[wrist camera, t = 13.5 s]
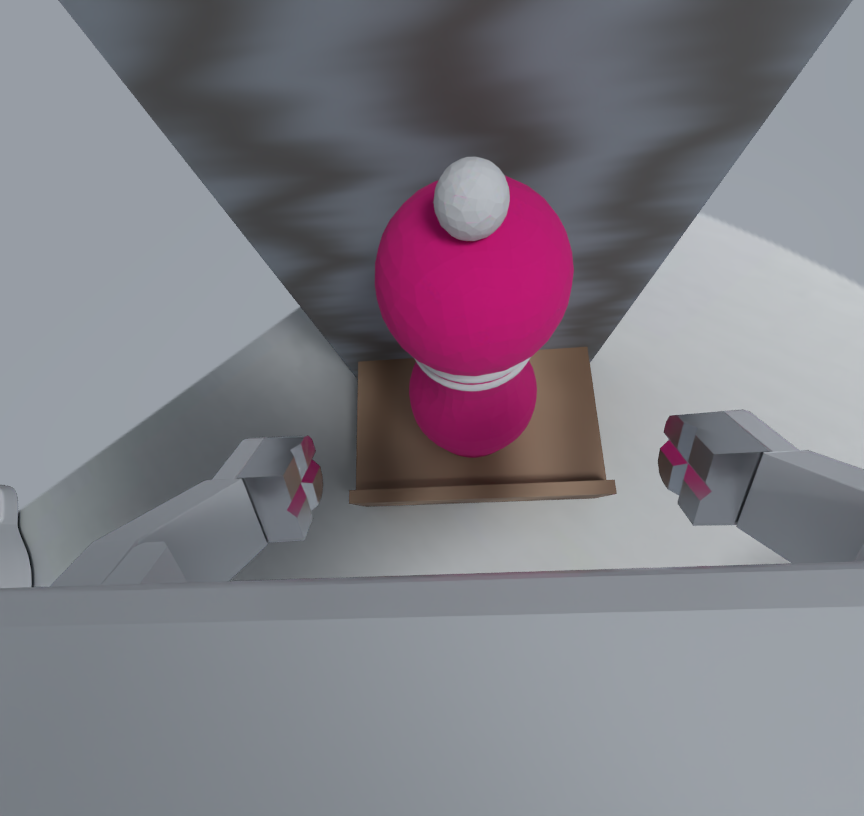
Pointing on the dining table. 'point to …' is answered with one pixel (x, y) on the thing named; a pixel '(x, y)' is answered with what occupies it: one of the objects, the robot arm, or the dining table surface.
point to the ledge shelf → (449, 142)
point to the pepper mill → (473, 301)
